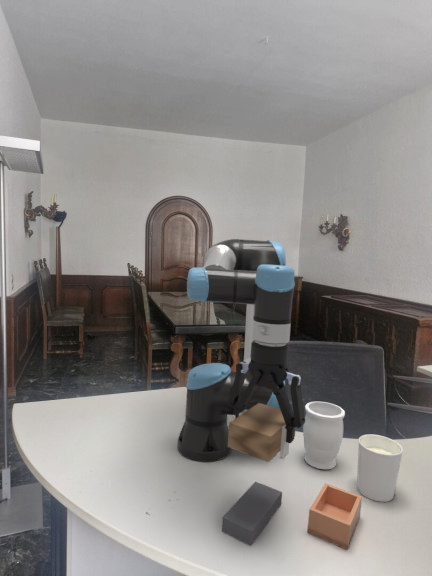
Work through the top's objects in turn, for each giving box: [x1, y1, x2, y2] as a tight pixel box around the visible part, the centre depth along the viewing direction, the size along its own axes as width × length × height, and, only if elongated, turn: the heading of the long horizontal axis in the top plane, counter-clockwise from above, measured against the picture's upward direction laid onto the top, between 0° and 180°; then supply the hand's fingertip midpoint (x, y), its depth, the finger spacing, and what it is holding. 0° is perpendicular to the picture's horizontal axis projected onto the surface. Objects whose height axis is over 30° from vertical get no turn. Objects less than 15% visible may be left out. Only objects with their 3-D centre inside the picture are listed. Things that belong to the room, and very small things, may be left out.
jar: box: [302, 401, 346, 471], centre depth 107 cm, size 11×10×15 cm
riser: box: [221, 481, 283, 546], centre depth 84 cm, size 7×15×3 cm, turn 149°
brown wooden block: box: [228, 403, 297, 463], centre depth 82 cm, size 9×13×5 cm
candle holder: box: [356, 433, 404, 503], centre depth 95 cm, size 10×10×12 cm
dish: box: [307, 483, 363, 551], centre depth 83 cm, size 8×11×5 cm
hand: (262, 448), depth 82 cm, fingers closed on brown wooden block, 9 cm apart
